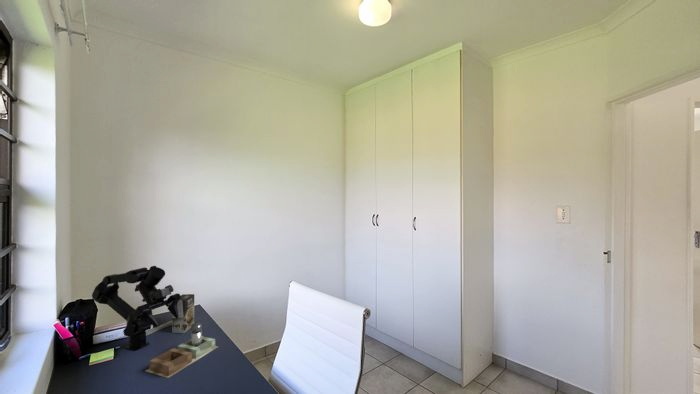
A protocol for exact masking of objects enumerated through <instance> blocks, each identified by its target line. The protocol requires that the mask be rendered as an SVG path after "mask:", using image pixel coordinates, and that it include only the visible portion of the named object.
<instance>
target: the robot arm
mask: <svg viewBox="0 0 700 394" xmlns="http://www.w3.org/2000/svg"><path fill="white" fill-rule="evenodd" d="M165 276H166V271H165V270H164V269H163V268H161V267H158V266H156V265H151V266H150V268H149V269H148V268H147V267H140V268H135V269H132V270H128V271H126V272H122V273H113V274H109V275H106V276H103V278H102V281H100V283H98V284H97V285H96V286H95V287H94V290H93V292H92V294H91V297H92V299H93V300H94V301H95V302H97V303H98V304H103V305H107V306H108V307H110V308H111V309H112V310H113V311H114V312H115V313H117V315H119V316H120V317H122V318H123V319H124V320H125V321H126V327H125V328H124V329H123V335H124V336H125V337H128V345H126V346H125V349H127V350H131V351H133V352H134V351H137V350H140V349H142V348H145V347H146V346H148V345H150V343H149V342H147V336H146V332H145V331H148V330H150V329H152V326H154V328H155V327H158V326H160V325H159V323H158V320H157V319H156V318H155V316H154V315H153V310H155V309H158V308H161V307H164V306H166V308H167V310H168V311H169V313H171V315H172V314H173V316H174V317H176V318H178V317H179V315H178V309H177V303H178V302H179V300H180V299H181V294H180V293H178V292H177V293H174V294H172V293H173V292H174V287H173V286H172V284H168V285H165V287H164V288H162V289H161V288H158V289H157V285H159V284H160V282H161V281H162V280H163V278H164V277H165ZM125 282H126V283H127V284H136V283H138V284H136V285H135V288H134V292H135V293H136V292H139V294H140V295H141V296H142V298H143V299H142V300H141V302H143V303H145V304H142V305H138V306H137V307H136V308H134V307H133V306H131V305H130V304H129V303H128V302H126V301H125V300H124V299H123V298H122V297H120V296H119V289H120V285H119V284H120V283H125ZM111 284H112V285H111ZM167 296H168V297H167Z"/></svg>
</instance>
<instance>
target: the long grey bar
mask: <svg viewBox="0 0 700 394" xmlns="http://www.w3.org/2000/svg"><path fill="white" fill-rule="evenodd" d="M169 326H172V319H171V320H170V321H167V322H165V323H162V324H160V325H159V326H158V327H155V326H154V327H153V328H152V327H151V329H149V330H146V331H145V332H146V337H147V336H148V335H151V334H154V333H156V332H158V331H160V330H162V329H165V328H167V327H169Z"/></svg>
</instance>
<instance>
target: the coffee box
mask: <svg viewBox="0 0 700 394" xmlns="http://www.w3.org/2000/svg"><path fill="white" fill-rule="evenodd" d="M180 296H181V299H180V300H179V302H178V303H177V309H178V315H179V317H178V318H176V317H174V316H173V314H172V313H171V316H172V319H171V320H172V325H171V326H172V327H171V333H173V334H174V333H175V334H184V333H186V332H188V331H189V330H191V325H192V324H194V323H195V294H191V293H190V294H189V293H186V294H184V293H183V294H180Z"/></svg>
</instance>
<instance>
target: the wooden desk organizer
mask: <svg viewBox="0 0 700 394" xmlns="http://www.w3.org/2000/svg"><path fill="white" fill-rule="evenodd" d="M218 348H219V346H217V345H216V338H212V337H207V336H203V335H202V344H201V345H199V346H197V347H194V346H191V338H190V339H188V340H186V341H184V342H183V343H180V344H178V345H177V348H175V347H173V348H171V349H169V350H167V351H165V352H163V353H161V354H159V355H158V356H156V357H154V358H152V359H150V360H149V361H148V365H149V368H148V369H145V372H147V373H150V374H153V375H157V376H160V377H163V378H168V379H169V378H171V377H172V376H174V375H175V374H177V373H179V372H180V371H182V370H183V369H185V368H187V367H188V366H190V365H191V364H193V363H195V362H197V361H199V360H200V359H201V358H203V357H205V356H206V355H208V354H210V353H211V352H213V351H214V350H216V349H218Z"/></svg>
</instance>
